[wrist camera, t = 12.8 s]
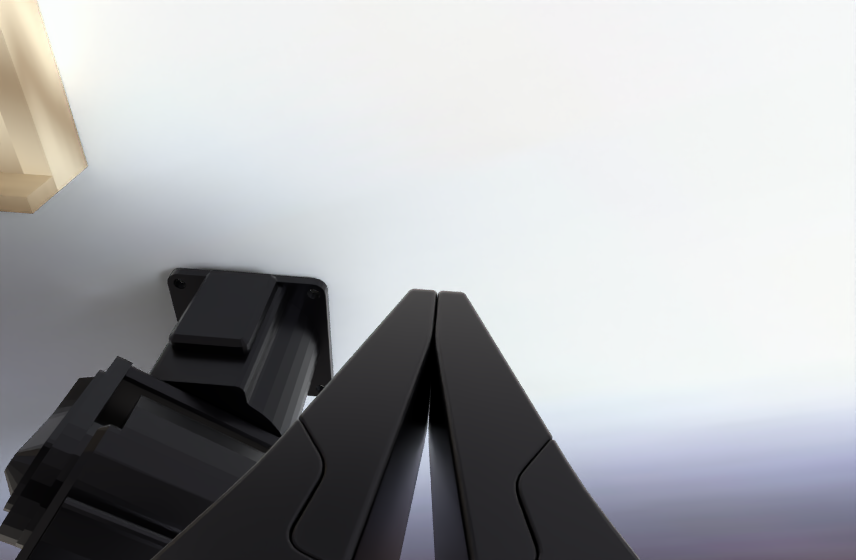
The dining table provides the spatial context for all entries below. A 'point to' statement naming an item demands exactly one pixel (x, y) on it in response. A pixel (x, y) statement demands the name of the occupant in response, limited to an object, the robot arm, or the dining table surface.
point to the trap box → (32, 114)
